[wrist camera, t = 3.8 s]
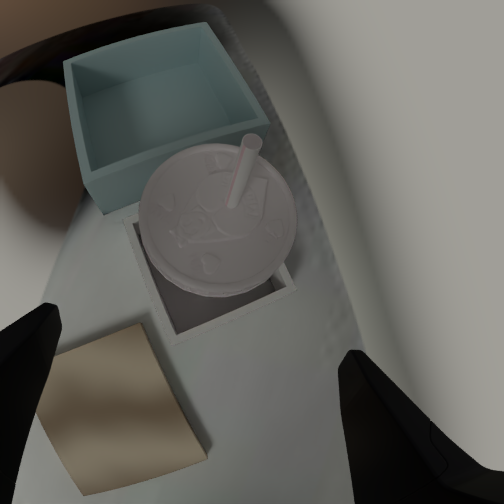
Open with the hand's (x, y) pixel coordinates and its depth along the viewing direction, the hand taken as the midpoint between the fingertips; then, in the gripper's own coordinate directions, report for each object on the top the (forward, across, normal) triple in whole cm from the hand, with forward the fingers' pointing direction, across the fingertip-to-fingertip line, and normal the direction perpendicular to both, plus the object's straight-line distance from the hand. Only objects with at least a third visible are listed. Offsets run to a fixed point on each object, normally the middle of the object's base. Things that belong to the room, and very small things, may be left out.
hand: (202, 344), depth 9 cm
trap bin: (+19, +6, -2) cm, 20 cm away
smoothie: (+12, 0, +5) cm, 13 cm away
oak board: (+4, +5, +13) cm, 14 cm away
